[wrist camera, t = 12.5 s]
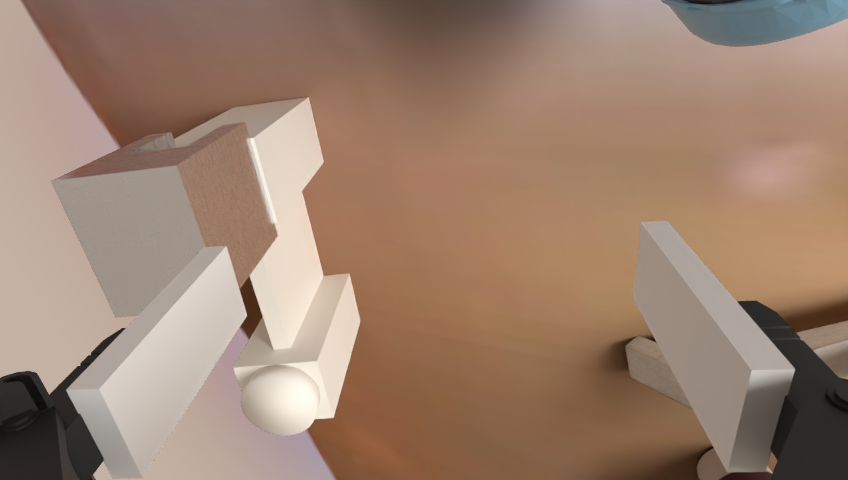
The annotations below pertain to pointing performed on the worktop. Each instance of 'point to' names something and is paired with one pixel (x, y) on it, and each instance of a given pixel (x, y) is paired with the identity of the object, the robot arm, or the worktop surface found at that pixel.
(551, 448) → the worktop surface
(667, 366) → the letter a
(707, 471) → the coffee cup
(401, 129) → the worktop surface
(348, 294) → the white blocky piece
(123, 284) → the pale grey block
